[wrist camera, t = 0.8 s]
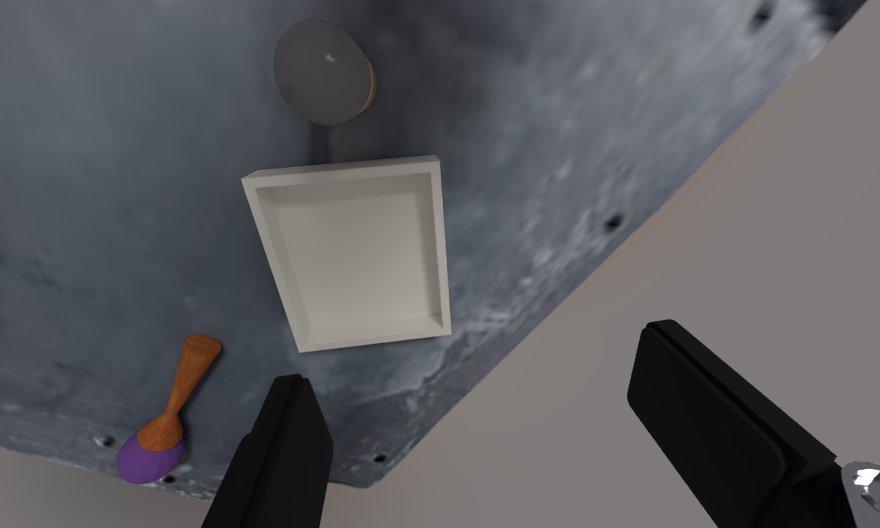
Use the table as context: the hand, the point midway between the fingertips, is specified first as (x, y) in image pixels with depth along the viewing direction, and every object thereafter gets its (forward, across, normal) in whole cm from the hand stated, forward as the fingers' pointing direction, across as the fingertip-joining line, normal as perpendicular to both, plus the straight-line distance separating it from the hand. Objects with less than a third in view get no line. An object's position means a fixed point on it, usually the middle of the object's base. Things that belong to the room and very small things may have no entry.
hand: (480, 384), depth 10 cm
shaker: (+24, +5, -9) cm, 27 cm away
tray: (+24, +7, +6) cm, 26 cm away
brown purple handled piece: (+25, +31, +22) cm, 45 cm away
